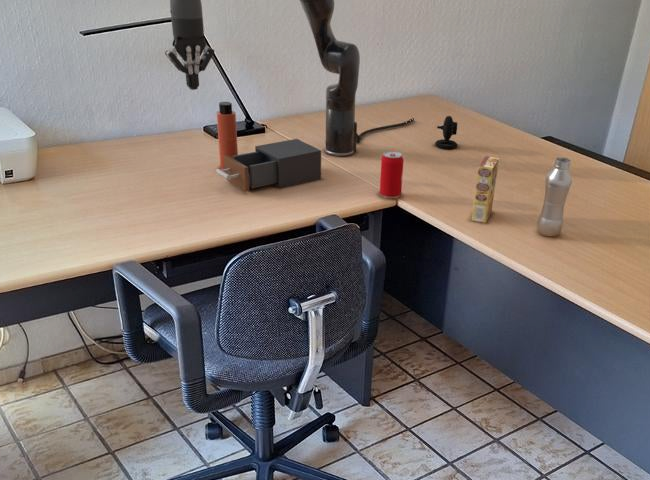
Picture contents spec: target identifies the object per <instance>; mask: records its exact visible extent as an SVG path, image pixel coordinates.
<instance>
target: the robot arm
mask: <svg viewBox="0 0 650 480" xmlns="http://www.w3.org/2000/svg"><path fill="white" fill-rule="evenodd" d="M299 3H300V5H301V7H302V10H303V12H304V14H305V17H306V20H307V21H308V24H309V27H310V30H311V32H312V36H313V39H314V42H315V46H316V49H317V54H318V57H319V61H320V63H321V65H322V67H323V69H324V70H325V71H327V72H328V73H331V74H336V75H339V77H338V82H337V83H334V84H330V85H327V87H326V89H325V140H324V145H325V147H324V152H325V153H326V154H328V155H330V156H334V157H348V156H352V155H353V154H354V153H356V152H357V144H359V143H360V142H361V138H362V137H363V136H364V135H367V134H369V133H373V132H376V131H382V130H389V129H393V128H397V127H403V126H406V125H408V124H411V123H412V122H415V118H414V117H412V118H410V119H408V120H407V121H403V122H400V123H395V124H388V125H384V126H378V127H373V128H370V129H367V130H364V131H362V132H360V134H358V122H357V121H356V120H355V118H356V93H357V90H358V86H359V75H360V61H361V58H360V57H361V55H360V50H359V48H358V46H357V45H356V44H354V43H351V42H347V41H342V40H338V39H337V38H336V37H335V34H334V32H333V29H332V25H331V24H332V23H331V22H332V19H333V15H334V11H335V0H299ZM169 9H170V11H169V12H170V13H169V14H170V18H171V19H170V20H171V31H172V36H173V41H172V42H171V43H172V47H171V48H170V49H169V50H165V52H164V55H165V56H166V57H167V58H168V60H169V61H170V62H171V64H173V66H174V67H175V68H176V69H177V70H178V71H179V72H181V73H183V74H185V82H186V83H185V84H186V87H188V88H189V90H191V91H194V90H198V88H199V86H200V78H199V73H200V72H204V71H206V69H207V67H208V65H209V63H210V61H211V60H212V58H213V56H214V54H215V50H214V49H213V48H211V47H209V46H208V45H207V42H206V39H205V37H204V36H205V29H204V16H203V4H202V0H169ZM178 56H179V57H180V58H181V61H180V59H179V58H178ZM412 119H413V120H412ZM410 120H411V121H410ZM406 122H407V123H406Z"/></svg>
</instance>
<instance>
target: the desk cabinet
mask: <svg viewBox="0 0 650 480" xmlns="http://www.w3.org/2000/svg"><path fill="white" fill-rule="evenodd" d="M254 148H255V151H254V152H257V151H260V152H262V153H264V154H266V155H268V156H269V157H271V158H273V159H275V160H277V164H278V183H274V184H272V185H273V186H275V187H276V188H278V189H283V188H288V187H292V186H297V185H301V184H306V183H310V182H316V181H319V180H320V181H321V180H322V150H321V149H319V148H317V147H315V146H313V145H310V144H309V143H307V142H305V141H302V140H301V139H298V138H293V139H287V140H283V141H277V142H276V141H275V142H272V143H271V142H270V143H265V144H260V145H255V147H254Z"/></svg>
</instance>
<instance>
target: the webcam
mask: <svg viewBox="0 0 650 480" xmlns="http://www.w3.org/2000/svg"><path fill="white" fill-rule="evenodd" d="M436 128H437V129H439V130H442V135H443V139H437V140H436V141H435V147H437V148H439V149H442V150H453V149H456V148H457V147H458V143H457V142H456V141H454V140H452V139H451V138H452V136H453V135H454V136H456V135H457V132H458V122H457V121H454V120H453V117H452V116H451V115H446V116H445V118H444V120H443V125H437V127H436Z"/></svg>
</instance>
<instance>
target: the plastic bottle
mask: <svg viewBox="0 0 650 480" xmlns="http://www.w3.org/2000/svg"><path fill="white" fill-rule="evenodd" d="M553 166H554V168H552V170H550V171H549V172H548V173H547V175H546V176H545V181H544V182H545V183H544V184H545V185H544V195H543V196H544V198H543V204H542V208H541V211H540V214H539V216H538V220H537V223H536V227H537V228H536V229H537V231H538V233H539V234H541V235H543V236H548V237H557V236H558V235H560V233H561V232H562V230H563V227H564V210H565V205H566V201H567V197H568V194H569V191H570V188H571V185H572V181H573V180H572V176H571V173H570V170H569V169H570V167H571V159H570V158H567V157H563V156H559V157H556V158H555V160H554V163H553Z"/></svg>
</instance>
